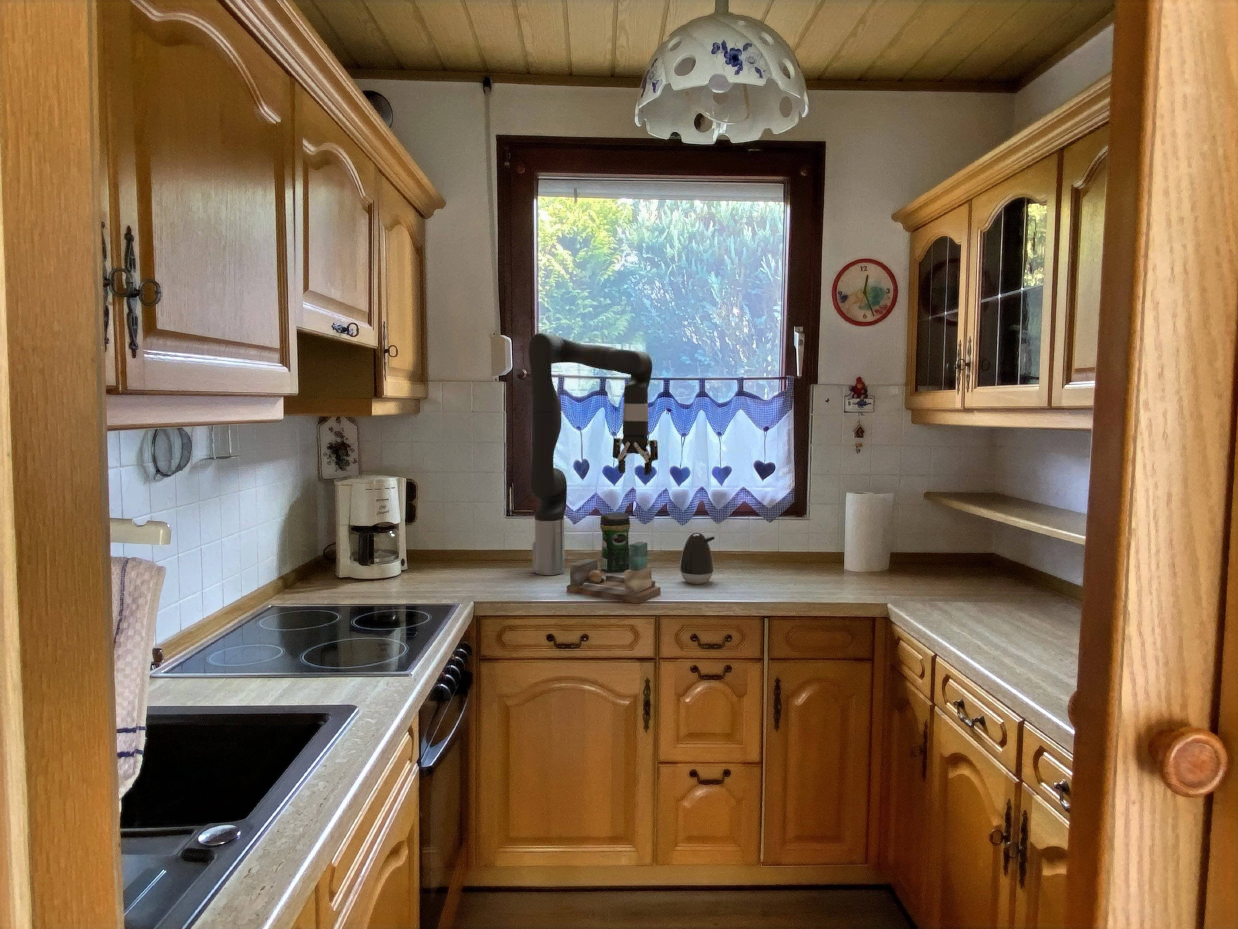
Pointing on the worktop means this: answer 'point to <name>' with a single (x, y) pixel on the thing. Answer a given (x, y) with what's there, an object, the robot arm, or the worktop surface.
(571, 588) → the base
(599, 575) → the walnut
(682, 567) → the pump dispenser
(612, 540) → the coffee jar
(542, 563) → the robot arm
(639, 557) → the sliding jaw
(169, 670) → the worktop surface
